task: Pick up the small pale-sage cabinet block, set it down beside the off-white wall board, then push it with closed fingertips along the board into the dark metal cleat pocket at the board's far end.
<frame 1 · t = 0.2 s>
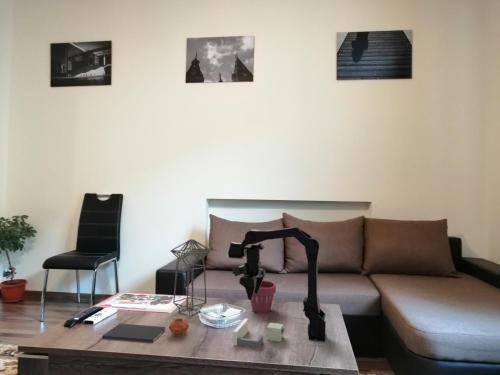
hand: (253, 296, 144), 14 cm above the table, fingers open, 9 cm apart
geometric lantern: (190, 311, 166), on the table
plant pot: (261, 310, 169), on the table
cleat board: (241, 337, 136), on the table
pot: (178, 335, 139), on the table
cabinet block: (275, 338, 136), on the table
notebook: (135, 335, 139), on the table
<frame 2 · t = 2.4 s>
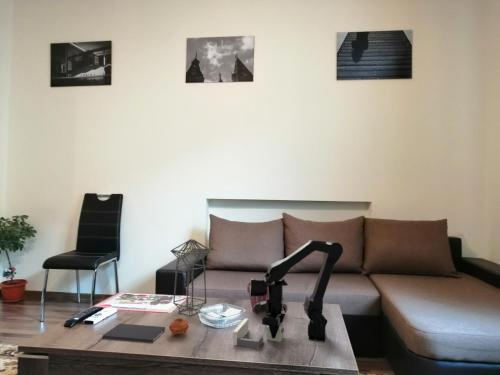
hand: (275, 335, 136), 1 cm above the table, fingers closed on cabinet block, 5 cm apart
cabinet block: (275, 338, 136), on the table, touching gripper
everything else where it was.
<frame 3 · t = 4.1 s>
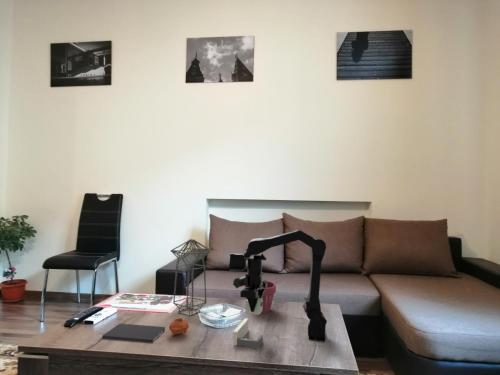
hand: (254, 309, 138), 11 cm above the table, fingers closed on cabinet block, 5 cm apart
cabinet block: (254, 312, 138), point 10 cm above the table, touching gripper
everything else where it was.
when the fingers open (2 cm above the table, at t = 5.9 s): cabinet block drops 2 cm, on the table.
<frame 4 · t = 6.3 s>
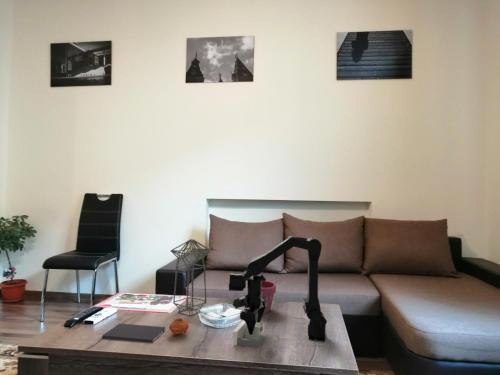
hand: (254, 330, 137), 2 cm above the table, fingers open, 9 cm apart
cabinet block: (253, 336, 137), on the table
everything else where it was.
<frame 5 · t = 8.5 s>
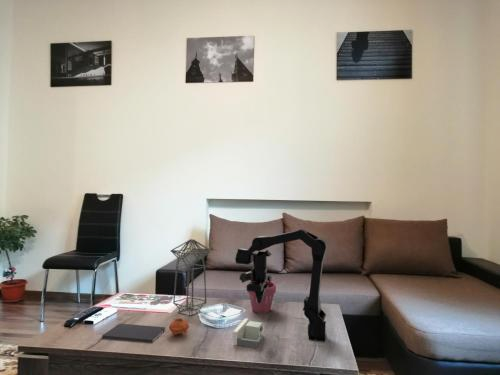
hand: (259, 302, 145), 11 cm above the table, fingers closed
nothing on the table moved.
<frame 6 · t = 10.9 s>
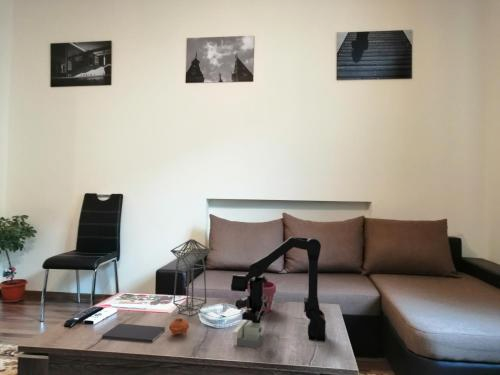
hand: (255, 330, 141), 1 cm above the table, fingers closed
cabinet block: (252, 337, 136), on the table, touching gripper
everything else where it was.
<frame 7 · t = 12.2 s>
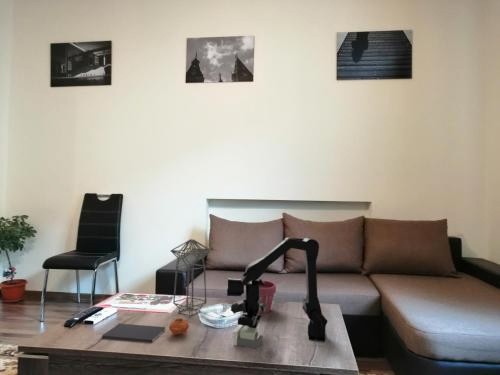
hand: (252, 335, 136), 1 cm above the table, fingers closed
cabinet block: (248, 342, 131), on the table, touching cleat board, gripper
everything else where it was.
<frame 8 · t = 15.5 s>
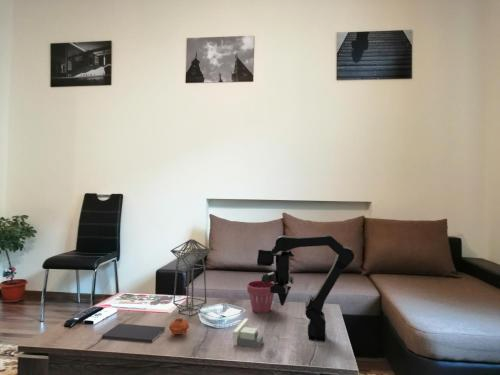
hand: (282, 305, 139), 12 cm above the table, fingers closed
cabinet block: (248, 343, 131), on the table
everything else where it was.
at the end: cabinet block 0.3 cm from the target spot, on the table; cabinet block tilted 0°; the gripper is holding nothing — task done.
